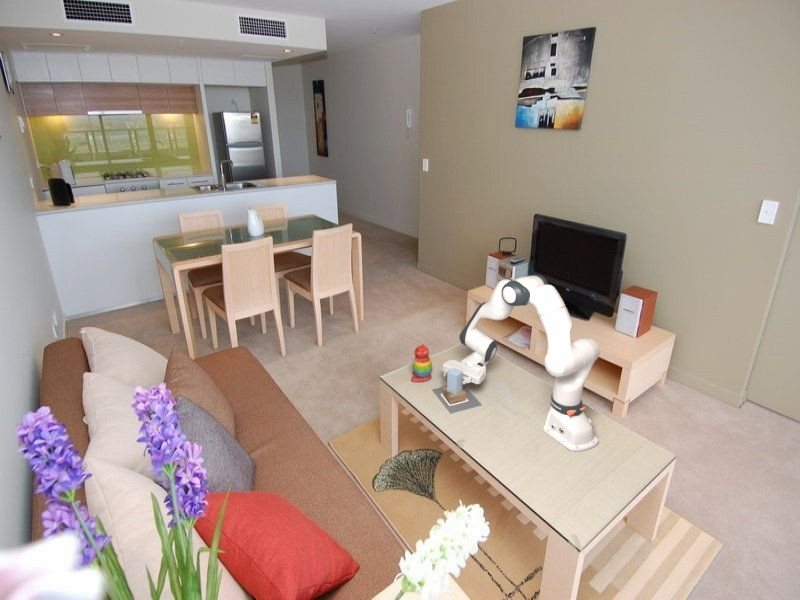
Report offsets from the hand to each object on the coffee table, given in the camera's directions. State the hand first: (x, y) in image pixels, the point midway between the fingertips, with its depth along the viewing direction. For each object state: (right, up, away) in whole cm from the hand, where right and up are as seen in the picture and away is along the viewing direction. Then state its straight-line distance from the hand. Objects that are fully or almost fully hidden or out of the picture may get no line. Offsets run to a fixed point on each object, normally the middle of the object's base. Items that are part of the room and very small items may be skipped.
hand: (453, 379), depth 209 cm
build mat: (+2, -10, +5) cm, 11 cm away
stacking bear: (-13, -3, +22) cm, 26 cm away
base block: (+1, -9, +5) cm, 11 cm away
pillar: (+1, -6, +3) cm, 7 cm away
